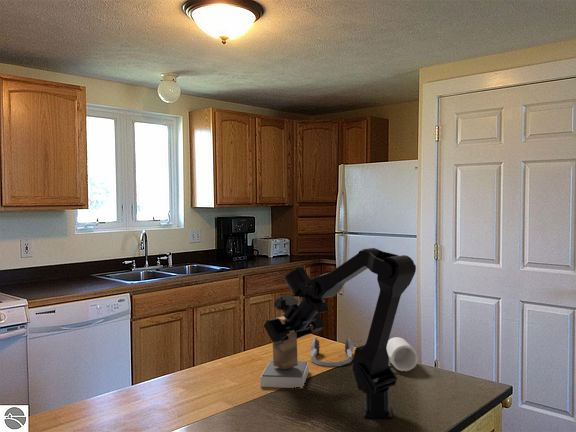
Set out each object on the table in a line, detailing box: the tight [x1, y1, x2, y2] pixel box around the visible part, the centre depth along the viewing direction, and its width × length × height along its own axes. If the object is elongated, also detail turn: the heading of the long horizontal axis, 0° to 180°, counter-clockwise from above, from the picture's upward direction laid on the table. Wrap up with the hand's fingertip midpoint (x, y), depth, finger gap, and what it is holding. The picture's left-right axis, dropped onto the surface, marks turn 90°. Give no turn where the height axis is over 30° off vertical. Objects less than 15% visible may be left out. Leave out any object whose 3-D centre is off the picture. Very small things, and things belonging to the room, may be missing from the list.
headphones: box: [310, 337, 362, 368], centre depth 167 cm, size 17×6×20 cm
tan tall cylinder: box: [272, 331, 298, 369], centre depth 147 cm, size 5×5×12 cm
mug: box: [386, 336, 419, 372], centre depth 156 cm, size 12×10×8 cm
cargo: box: [277, 315, 287, 324], centre depth 147 cm, size 3×3×2 cm
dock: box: [259, 360, 310, 389], centre depth 147 cm, size 14×12×3 cm
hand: (281, 342), depth 148 cm, fingers closed on tan tall cylinder, 5 cm apart
